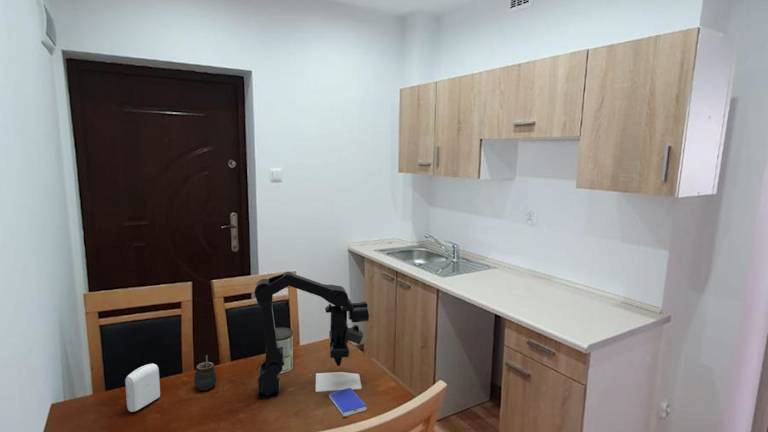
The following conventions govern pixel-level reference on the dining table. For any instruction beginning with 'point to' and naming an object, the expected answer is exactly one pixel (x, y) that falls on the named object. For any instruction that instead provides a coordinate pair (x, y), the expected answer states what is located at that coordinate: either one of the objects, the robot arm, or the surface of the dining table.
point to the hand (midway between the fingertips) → (338, 365)
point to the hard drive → (347, 401)
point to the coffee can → (285, 346)
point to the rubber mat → (337, 381)
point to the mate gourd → (205, 375)
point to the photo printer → (142, 387)
